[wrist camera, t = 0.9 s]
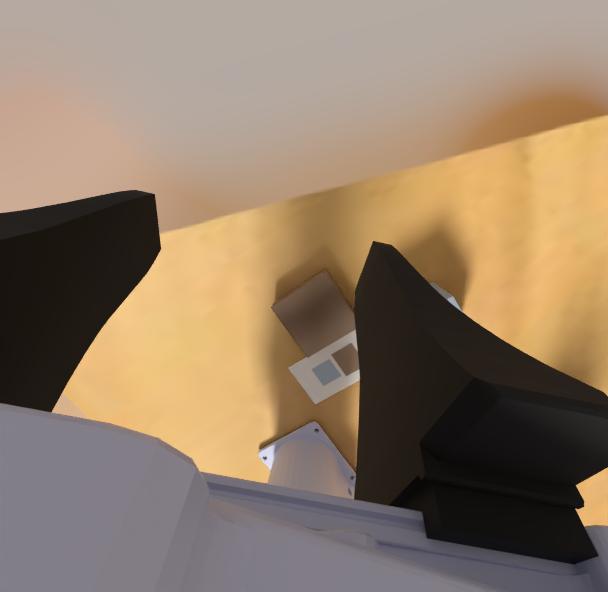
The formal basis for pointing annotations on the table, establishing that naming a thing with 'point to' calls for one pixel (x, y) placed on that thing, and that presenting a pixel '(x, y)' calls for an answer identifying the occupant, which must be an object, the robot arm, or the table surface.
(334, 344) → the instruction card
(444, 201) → the table surface
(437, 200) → the table surface
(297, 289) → the base brick
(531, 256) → the table surface
